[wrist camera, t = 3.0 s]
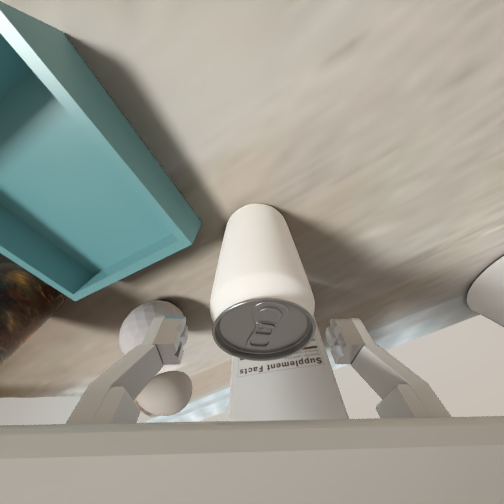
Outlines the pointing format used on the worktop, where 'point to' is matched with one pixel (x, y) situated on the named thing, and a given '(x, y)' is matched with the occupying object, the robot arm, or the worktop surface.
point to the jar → (23, 305)
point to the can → (261, 289)
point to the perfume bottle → (165, 384)
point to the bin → (76, 170)
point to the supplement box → (286, 387)
